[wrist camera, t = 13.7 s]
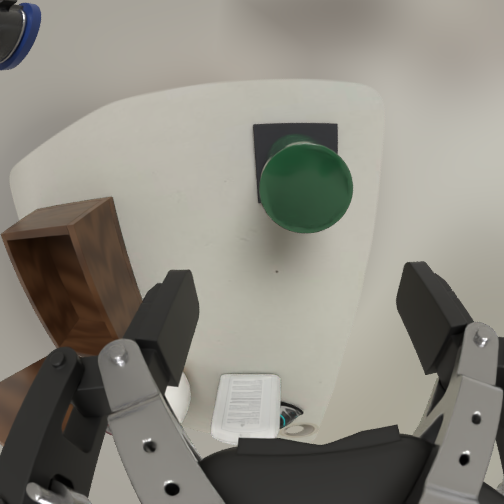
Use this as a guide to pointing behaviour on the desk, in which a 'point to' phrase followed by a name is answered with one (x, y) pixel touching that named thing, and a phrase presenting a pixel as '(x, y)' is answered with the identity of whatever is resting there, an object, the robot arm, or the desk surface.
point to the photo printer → (246, 407)
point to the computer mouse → (288, 414)
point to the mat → (272, 132)
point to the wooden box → (76, 273)
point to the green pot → (304, 185)
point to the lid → (18, 397)
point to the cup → (179, 398)
